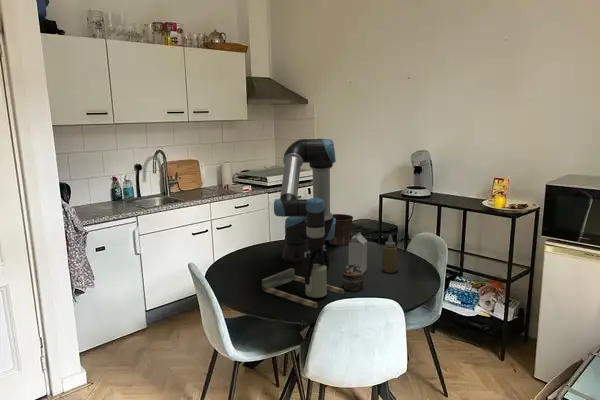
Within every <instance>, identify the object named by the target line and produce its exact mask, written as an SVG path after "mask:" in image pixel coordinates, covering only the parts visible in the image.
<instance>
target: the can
mask: <svg viewBox="0 0 600 400" xmlns="http://www.w3.org/2000/svg"><path fill="white" fill-rule="evenodd" d="M327 271H328V270H327V267H326V266H325V265H321V264H319V263H314V265H313V269H312V272H311V277H312V292H308V291H306V290H305V292H304V293H305V294H304V295H305V296H307V297H309V298H313V299H314V298H315V299H317V298H323V297H325V296H327V294H328V290H327V285H328V284H327V282H328V281H327V280H328V279H327Z"/></svg>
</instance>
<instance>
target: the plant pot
mask: <svg viewBox="0 0 600 400" xmlns="http://www.w3.org/2000/svg"><path fill="white" fill-rule="evenodd" d="M332 214H333V213H332ZM333 218H336V223H335V232H334V237H333V239H331V240H328V243H329V244H330V245H333V246H335V245H336V246H340V247H342V246H346V245H348V246H349V242H350V241H351V240H350V239H351V232H352V224H353V219H354V216H353V215H350V214H345V213H344V214H343V213H334V214H333Z"/></svg>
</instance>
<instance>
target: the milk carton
mask: <svg viewBox="0 0 600 400" xmlns="http://www.w3.org/2000/svg"><path fill="white" fill-rule="evenodd" d="M354 264H356V266H359V267H360V268H361V269H362V270H361V272H362V274H363V275H364V273H365V272H366V271H367V270H368V239H366V238H365V237H364V236H363V235H362V233H361V231H359V232H358V233H357V234H355V235H353V236H351V240H350V241H349V244H348V265H354Z"/></svg>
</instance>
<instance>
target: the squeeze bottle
mask: <svg viewBox="0 0 600 400" xmlns="http://www.w3.org/2000/svg"><path fill="white" fill-rule="evenodd" d="M384 244H385V245H384V246H383V248H382V249H383V250H382V256H381V257H382V258H381V267H382V269H383V271H384V273H389V274H391V273H396V272H397V269H398V266H399V257H398V256H399V255H398V248H397V246H396V242H395V241H393V236H392V235H391V234H389V235H388V239H387V241H385V243H384Z"/></svg>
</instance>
